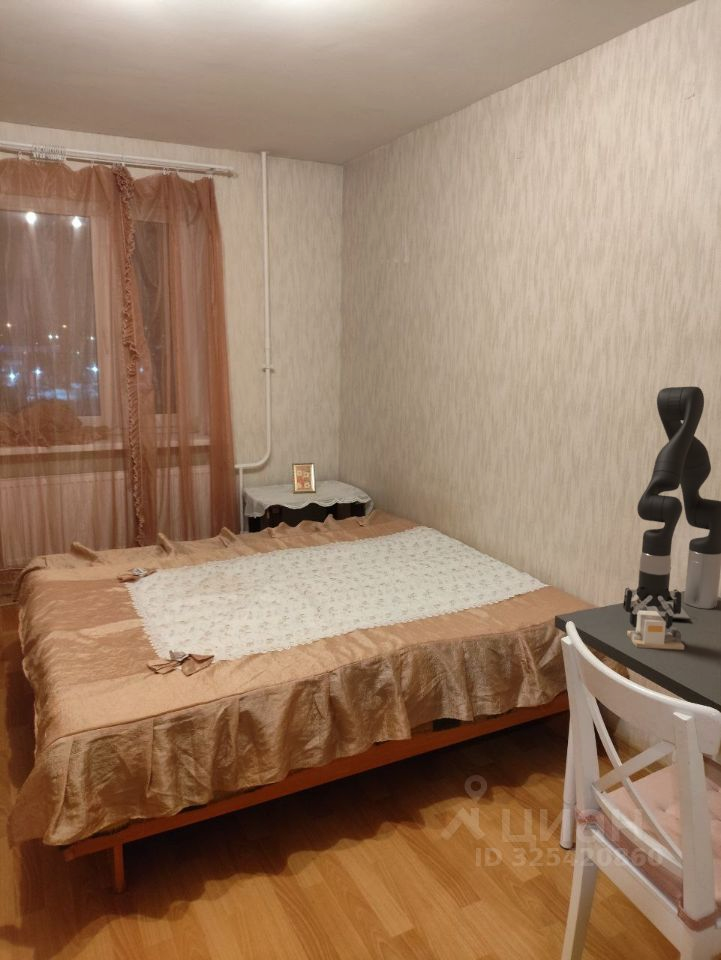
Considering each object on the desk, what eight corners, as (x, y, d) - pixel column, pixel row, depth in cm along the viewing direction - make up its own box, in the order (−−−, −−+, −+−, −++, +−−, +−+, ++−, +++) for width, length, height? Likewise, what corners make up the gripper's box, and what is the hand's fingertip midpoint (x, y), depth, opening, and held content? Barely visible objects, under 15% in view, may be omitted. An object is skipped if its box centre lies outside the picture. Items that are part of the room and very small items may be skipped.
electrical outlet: (688, 624, 196) (689, 616, 195) (650, 621, 198) (650, 613, 198) (677, 608, 208) (678, 601, 208) (641, 606, 211) (641, 599, 210)
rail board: (627, 634, 188) (628, 622, 187) (672, 636, 186) (673, 624, 186) (636, 647, 179) (637, 635, 178) (684, 649, 178) (685, 637, 177)
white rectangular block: (664, 644, 178) (666, 622, 177) (644, 643, 179) (646, 621, 178) (654, 632, 186) (656, 611, 185) (635, 631, 187) (637, 610, 186)
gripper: (677, 565, 182) (672, 623, 185) (623, 564, 184) (619, 620, 186) (688, 574, 175) (682, 633, 178) (631, 572, 176) (626, 631, 179)
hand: (650, 627), depth 182 cm, fingers open, 8 cm apart
